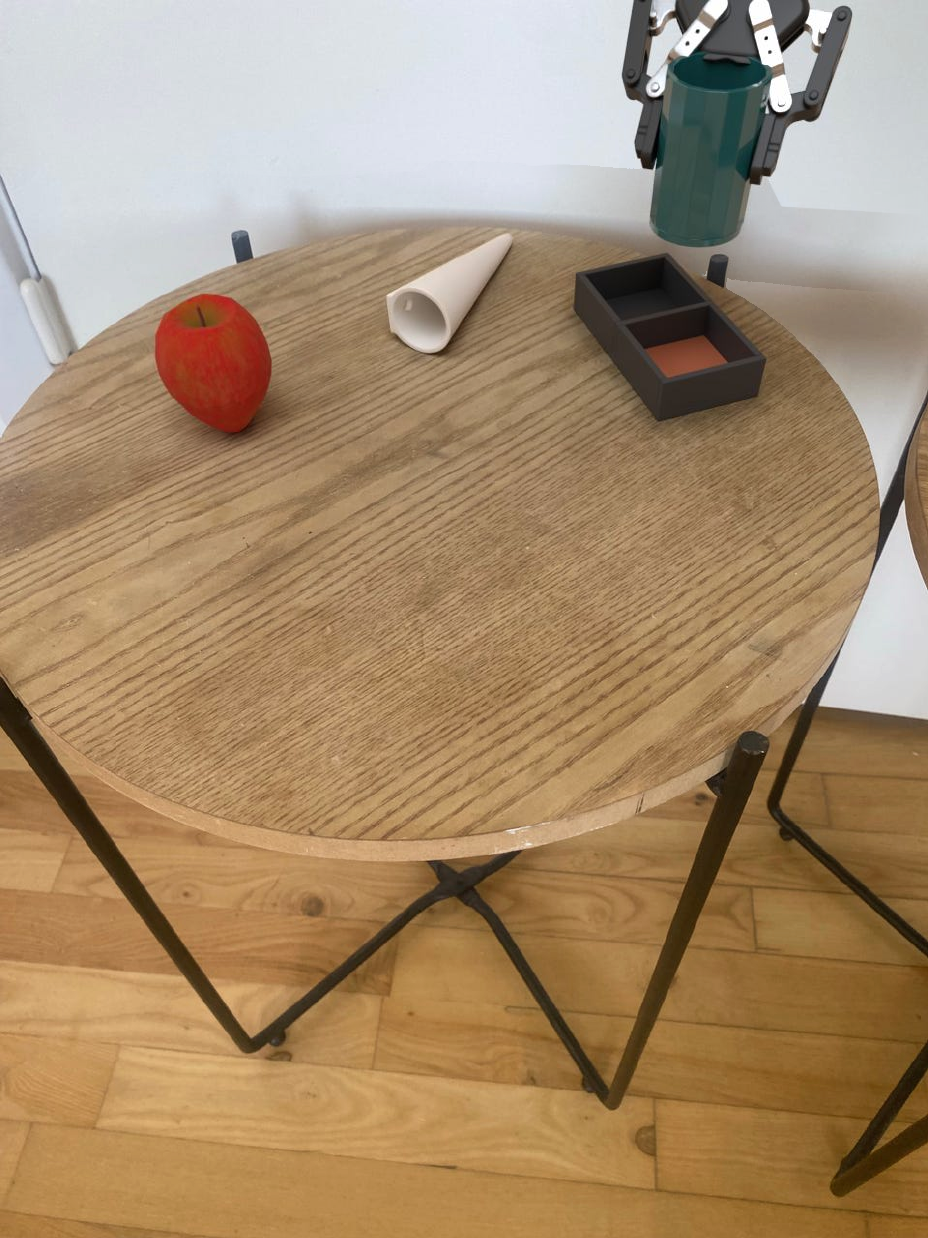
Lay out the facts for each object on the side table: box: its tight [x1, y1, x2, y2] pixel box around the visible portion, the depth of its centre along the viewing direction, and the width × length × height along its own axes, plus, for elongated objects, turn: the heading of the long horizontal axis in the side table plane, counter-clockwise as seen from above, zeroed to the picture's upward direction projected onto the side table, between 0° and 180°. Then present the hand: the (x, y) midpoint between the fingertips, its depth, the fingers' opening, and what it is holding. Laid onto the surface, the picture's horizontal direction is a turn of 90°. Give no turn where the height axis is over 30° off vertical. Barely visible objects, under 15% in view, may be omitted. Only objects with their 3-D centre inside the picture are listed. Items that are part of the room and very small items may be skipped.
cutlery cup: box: [648, 51, 772, 249], centre depth 63 cm, size 6×6×10 cm
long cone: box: [386, 233, 514, 354], centre depth 86 cm, size 6×6×19 cm
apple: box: [154, 293, 273, 434], centre depth 73 cm, size 9×8×11 cm
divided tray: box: [573, 252, 767, 422], centre depth 80 cm, size 17×9×4 cm, turn 19°
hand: (700, 171), depth 63 cm, fingers closed on cutlery cup, 6 cm apart
